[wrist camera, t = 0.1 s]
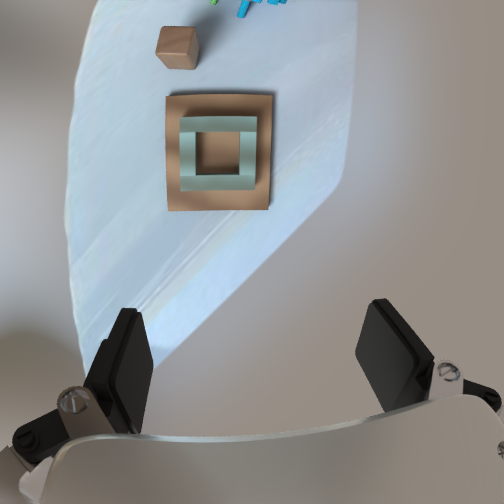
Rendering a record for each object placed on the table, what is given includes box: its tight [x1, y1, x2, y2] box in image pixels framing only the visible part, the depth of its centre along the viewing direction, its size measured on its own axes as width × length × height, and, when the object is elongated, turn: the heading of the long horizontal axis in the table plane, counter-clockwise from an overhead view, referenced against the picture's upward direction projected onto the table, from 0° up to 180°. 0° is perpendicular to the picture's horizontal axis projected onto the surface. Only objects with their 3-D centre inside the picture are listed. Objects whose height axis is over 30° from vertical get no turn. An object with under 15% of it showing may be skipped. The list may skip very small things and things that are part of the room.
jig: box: [165, 94, 272, 211], centre depth 36 cm, size 16×14×3 cm
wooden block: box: [155, 26, 200, 70], centre depth 28 cm, size 4×4×8 cm
